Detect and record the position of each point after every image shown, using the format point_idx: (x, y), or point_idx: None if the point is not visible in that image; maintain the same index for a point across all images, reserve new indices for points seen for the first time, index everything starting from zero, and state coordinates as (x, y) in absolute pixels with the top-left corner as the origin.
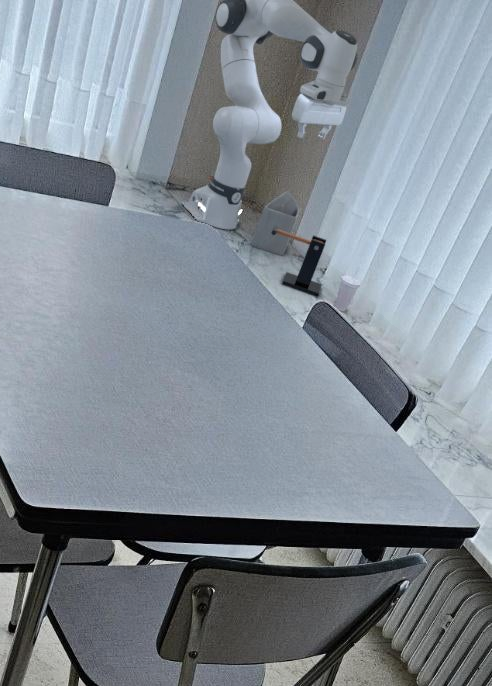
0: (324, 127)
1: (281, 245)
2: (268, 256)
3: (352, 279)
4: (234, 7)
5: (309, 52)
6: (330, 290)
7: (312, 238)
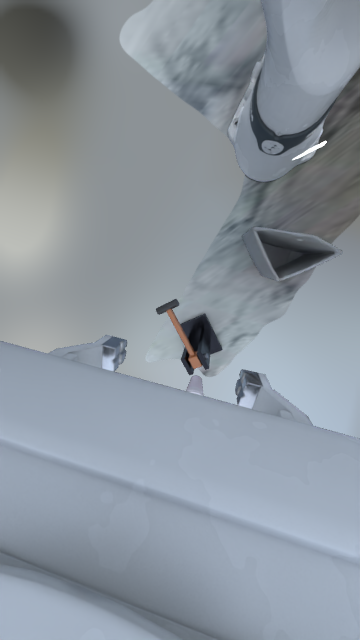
0: (281, 409)
1: (261, 272)
2: (234, 270)
3: None
4: None
5: None
6: (228, 356)
7: (197, 352)
